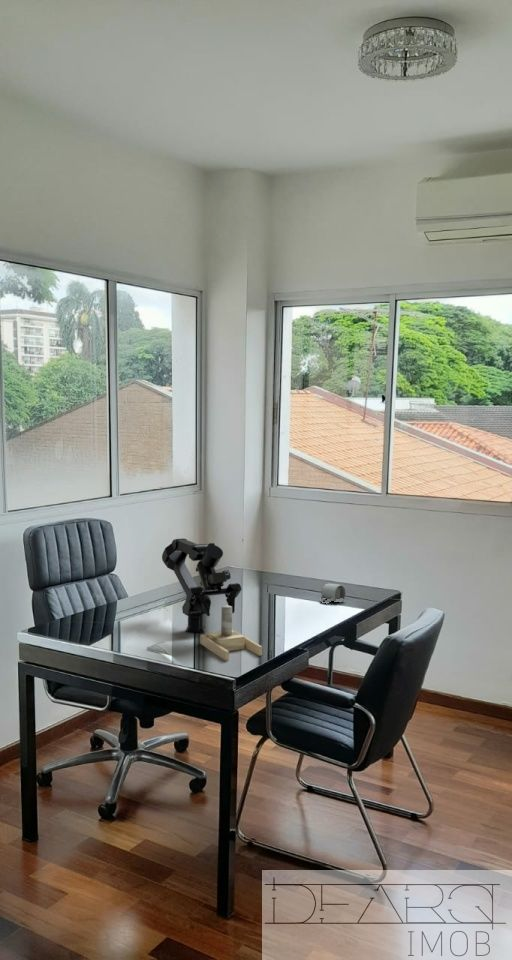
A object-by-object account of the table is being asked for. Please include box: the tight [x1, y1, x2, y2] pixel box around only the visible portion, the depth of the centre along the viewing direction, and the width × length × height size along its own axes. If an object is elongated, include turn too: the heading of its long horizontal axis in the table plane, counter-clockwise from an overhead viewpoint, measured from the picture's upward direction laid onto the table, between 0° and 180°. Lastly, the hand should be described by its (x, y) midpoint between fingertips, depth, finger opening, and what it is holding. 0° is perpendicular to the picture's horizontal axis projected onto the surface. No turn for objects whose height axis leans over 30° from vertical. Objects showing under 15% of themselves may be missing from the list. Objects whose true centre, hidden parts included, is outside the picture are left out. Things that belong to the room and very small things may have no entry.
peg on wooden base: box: [208, 605, 246, 652], centre depth 260 cm, size 9×9×14 cm
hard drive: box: [146, 641, 172, 657], centre depth 259 cm, size 2×8×12 cm
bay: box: [199, 630, 263, 661], centre depth 258 cm, size 20×14×4 cm
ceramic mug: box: [319, 583, 347, 603], centre depth 328 cm, size 11×8×8 cm
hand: (221, 614), depth 263 cm, fingers open, 9 cm apart
